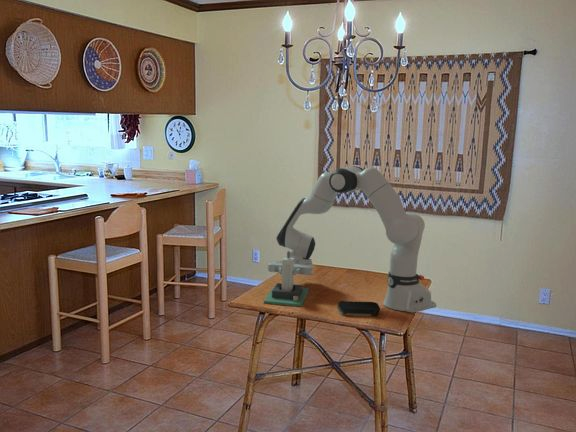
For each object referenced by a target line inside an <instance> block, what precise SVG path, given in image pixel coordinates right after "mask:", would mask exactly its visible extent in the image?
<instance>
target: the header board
mask: <svg viewBox="0 0 576 432" xmlns="http://www.w3.org/2000/svg"><path fill="white" fill-rule="evenodd" d="M281 288H282V282H281V283H280V282H278V283H276V284H275V285H274V286H273V287H272V289H271V290H270V292H269V293H268V294H267V296H266V297H265V299H263V304H267V305H268V304H269V305H278V306H279V305H280V306H288V307H290V306H291V307H302V306H303V303H304V302H305V299H307V298H306V297H307V296H308V293H309V291H310V288H306V287H303V285H302V284H294V283H293V291H290V292H289V291H282V290H281Z"/></svg>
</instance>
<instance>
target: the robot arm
mask: <svg viewBox="0 0 576 432" xmlns="http://www.w3.org/2000/svg"><path fill="white" fill-rule="evenodd" d="M359 190H360V191H362V192H363V194H365V197H366V198H367V199H368V201H369V203H370V204H371V205H372V206H373V207H374V209H375V211H376V212H377V214H378V215H379V218H380V220H381V221H382V223H383V226H384V228H385V235H386V238H387V239H388V240H389V241H390V242H391V243H392V244H393V248H392V251H391V252H390V257H389V258H390V259H389V271H388V275H387V290H386V293H385V298H384V301H383V306H385V307H386V308H388V309H391V310H395V311H402V312H408V313H413V314H414V313H417V312H423V311H425V310H431V309H434V308H437V303H436V302H435V301H434V300H432V294H431V291H430V290H429V289H428V288H427V287H425V285H423V284H422V283H421V282H420V281H424V280H425V276H424V275H422V274H418V273H417V269H418V267H417V266H418V259H419V257H418V256H419V251H420V247H421V243H422V239H423V233H424V230H425V227H426V226H425V220H424V219H423V217H421V215H419V214H417V213H411V212H410V213H407V212H406V209H405V207H404V206H403V204H402V199H401V197H400V196H399V194H398V193H397V191H396V190H395V188H394V187H393V186H392V184H391V183H390V182H389V180H388V179H387V177H385V175H383V174H382V173H381V171H379V170H378V169H377V168H376V167H373V166H369V167H367V168H365V169H364V168H363V167H360V166H356V165H355V166H354V165H353V166H344V167H340V168H337V169H335V170H334V171H332V172H331V171H326V172H325V171H324V172H322V173H321V174H320V176H318V179H317V180H316V182H315V183H314V186H313V188H312V190H311V193H310V194H309V195H308V196H307V197H304V198H303V197H302V199H300V200H299V202H298V203H297V205H296V206H295V207H294V209H293V211H292V212H291V213H290V215H289V217H288V218H287V219H286V222H285V223H284V224H283V226H282V227H280V229H279V230H278V232H277V235H276V238H275V239H276V241H277V244H278V246H280V247H284V248H287V249H289V250H290V258H294V270H293V274H292V275H294V276H296V275H303V276H305V275H306V276H312V275H313V272H314V271H313V269H314V264H313V261H312V259H310V258H311V256H312V255H313V252H314V251H315V247H316V239H315V238H314V236H312V235H309V234H308V233H305V232H302V231H301V230H298V229H296V228H295V227H294V225H296V223H297V221H298V219H299V218H300V216H301V215H305V214H311V215H322V214H325V213H327V212H329V210H330V209H331V208H332V207H333V205H334V203H335V200H336V198H337V196H338V194H346V193H352V192H355V191H359ZM267 271H268V272H269V273H279V274H280V275H282V260H272V261H270V262H269V263H268V264H267Z"/></svg>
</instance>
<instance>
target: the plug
mask: <svg viewBox="0 0 576 432" xmlns="http://www.w3.org/2000/svg"><path fill="white" fill-rule="evenodd" d="M290 253H291V250H288V251H287V252H286V257H285V256H284V257H283V258H282V260H281V261H282V274H281V283H282V288H281V290H282V291H289V292H290V291H293V284H294V276H295V275H292V274H293V270H294V258H290Z"/></svg>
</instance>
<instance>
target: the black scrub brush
mask: <svg viewBox="0 0 576 432" xmlns="http://www.w3.org/2000/svg"><path fill="white" fill-rule="evenodd" d="M337 308H338V309H337V310H338V312H339V315H341V316H351V317H352V316H353V317H354V316H356V317H372V318H374V317H378V316H379V313H380V310H381V307H380V306H379V304H378V303H377V302H374V301H348V300H347V301H346V300H340V301H339V302H338V303H337Z"/></svg>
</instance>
